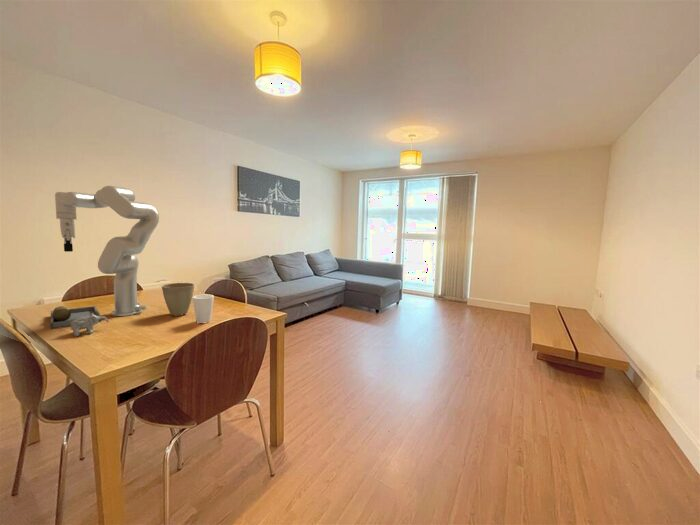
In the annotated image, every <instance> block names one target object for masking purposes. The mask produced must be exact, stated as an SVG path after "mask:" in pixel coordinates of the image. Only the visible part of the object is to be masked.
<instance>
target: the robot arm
mask: <svg viewBox="0 0 700 525" xmlns="http://www.w3.org/2000/svg"><path fill="white" fill-rule="evenodd" d="M54 199H55V200H54V202H55V216H56V219H57V220H59V226H60V235H61V238H62V239H63V242H64V243H63V251H64V252H65V253H66V252H70V253H71V252H73V249H74V248H73V247H74V246H73V241H72V238H73V239H75V238H76V227H75V226H76V225H75V221H77V208H82V209H83V208H85V209H104V208H108V207H109V208H110V209H111V210H113V211H114V212H115V213H116V214H118V215H119V216H120V217H122V218H124V219H129V220H138V221H137V222H136V223H135V224H133V226H132V227H131V229H130V231H129V232H128V234H127V235H124V236H115V237H112V238H111V239H109V240H108V242H107V243H106V244H105V246H104V248H103V251H102V252H101V254H100V256H99V259H98V260H97V261H98V262H97V268H98V270H99V272H101V273H102V274H105V275H114V274H115V275H114V278H113V294H114V296H113V297H114V298H113V299H114V310H112V311H111V312H110V315H111V316H114V317H126V316H127V317H128V316H134V315H137V314H140V313H141V312H142V311H145V310H147V305H146V304H145V305H143V304H142V305H141V304H140V302H138V286H137V285H138V284H137V283H138V269H139V259H138V257H137V255H139V254H141V253H142V252H143V251H144V248H145V247H146V245H147V243H148V241H149V240H150V238H151V235H152V233H153V232H154V231H155V229H156V228H157V226H158V224H159V221H160V220H159V219H160V215H159V211H158V210H157V208H156V207H155V206H154V205H152V204H150V203H145V202H139V201H136V195H135V194H134V192H133V191H132V190H131V189H129V188H125V187H120V186H114V185H106V186H103V187H102V188H100V189H98V190H97V191H96V192H95V194H93V193H92V194H91V193H87V192H86V193H85V192H77V191H67V192H65V191H64V192H63V191H57V192H55V194H54Z"/></svg>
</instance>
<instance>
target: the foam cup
mask: <svg viewBox="0 0 700 525" xmlns="http://www.w3.org/2000/svg"><path fill="white" fill-rule="evenodd" d="M214 300H215V296H214V294H209V293H205V294H204V293H203V294H196V295H193V296H192V304H193V310H194V311H193V312H194V317H195V321H197V322H198V323H197V322H196V323H197V324H199V323H204V322H209V321H210V320H212V313H213V306H214ZM210 322H211V321H210ZM210 322H209V323H210ZM204 324H205V323H204Z"/></svg>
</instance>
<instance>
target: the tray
mask: <svg viewBox="0 0 700 525" xmlns="http://www.w3.org/2000/svg"><path fill="white" fill-rule="evenodd" d="M67 309H68V310H69V311H70V313H71V316H70V318H69V319H67V320H66V321H61V322H59V321H56V320H54V319H53V311H54V310H51V311H50V329H51V330H53V328H54V329H60V328H59V327H61V328H66V327H65V326H67V327H71V323H70V322H72V321H73V320H76V319H77V318H81V317H87V316H90V315H91V314H92V313H94V315H96V316H101V314H100V312H99V310H98V308H97V306H96V305H94V306H93V305H92V306H85V307H84V306H83V307H76V308H67ZM100 321H101V322H102V319H100V320H98V323H100Z"/></svg>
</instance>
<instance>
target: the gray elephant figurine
mask: <svg viewBox="0 0 700 525" xmlns="http://www.w3.org/2000/svg"><path fill="white" fill-rule="evenodd" d="M100 319H101V320H102V319H103V320H105V321H106V323H109V321H110V320H109V319H108V318H107V317H106V316H104V315H103V316H101V315H100V316H96V315H94V313H92V314H91V315H90V316H87V317H81V318H77V319H76V320H73V321H72V322H70V323H71V326H70V330H71V331H72V332H73V334H74V337H77V336H78V337H79V336H80V335H81V334H80V331H82V330H85V329H86V331H87V333H88V334H89V335H91V334H93V333H94V326H95V325H97V324H99V322H98V320H100Z"/></svg>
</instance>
